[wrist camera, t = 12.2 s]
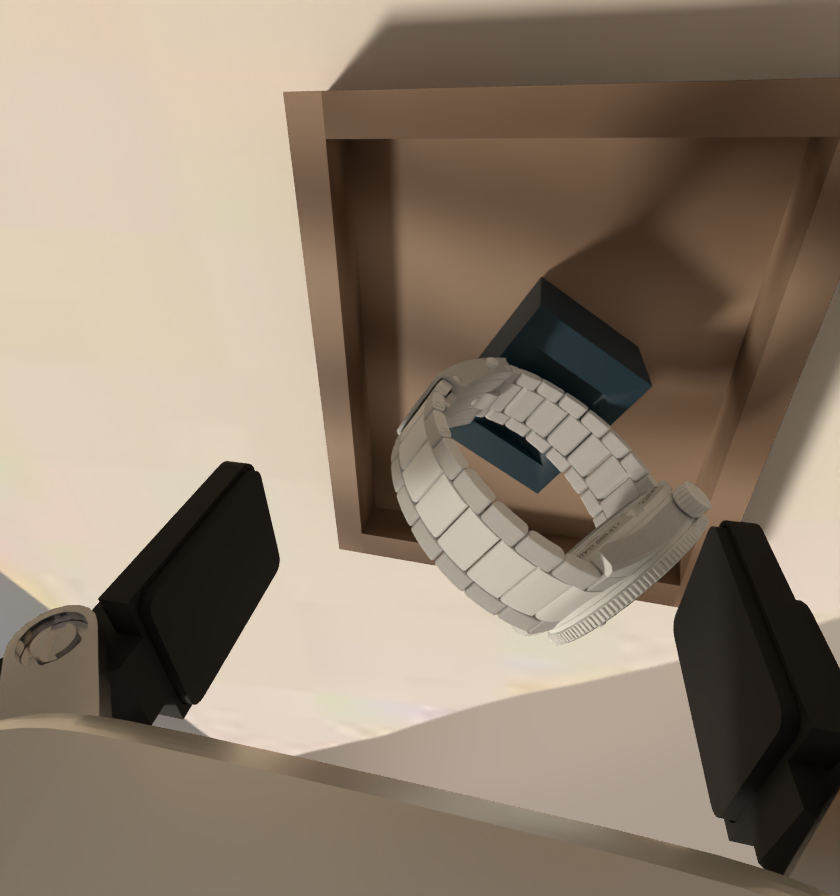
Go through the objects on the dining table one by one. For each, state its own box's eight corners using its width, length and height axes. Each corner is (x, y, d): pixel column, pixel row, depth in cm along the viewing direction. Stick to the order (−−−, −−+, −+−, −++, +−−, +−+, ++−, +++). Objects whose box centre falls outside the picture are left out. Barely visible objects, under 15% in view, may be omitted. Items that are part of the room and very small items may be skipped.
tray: (323, 95, 18) (282, 91, 15) (863, 82, 14) (922, 75, 12) (360, 510, 27) (339, 548, 25) (691, 561, 24) (704, 612, 22)
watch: (576, 472, 22) (595, 729, 13) (416, 366, 21) (316, 569, 12) (682, 375, 19) (803, 626, 10) (501, 243, 18) (453, 395, 9)
